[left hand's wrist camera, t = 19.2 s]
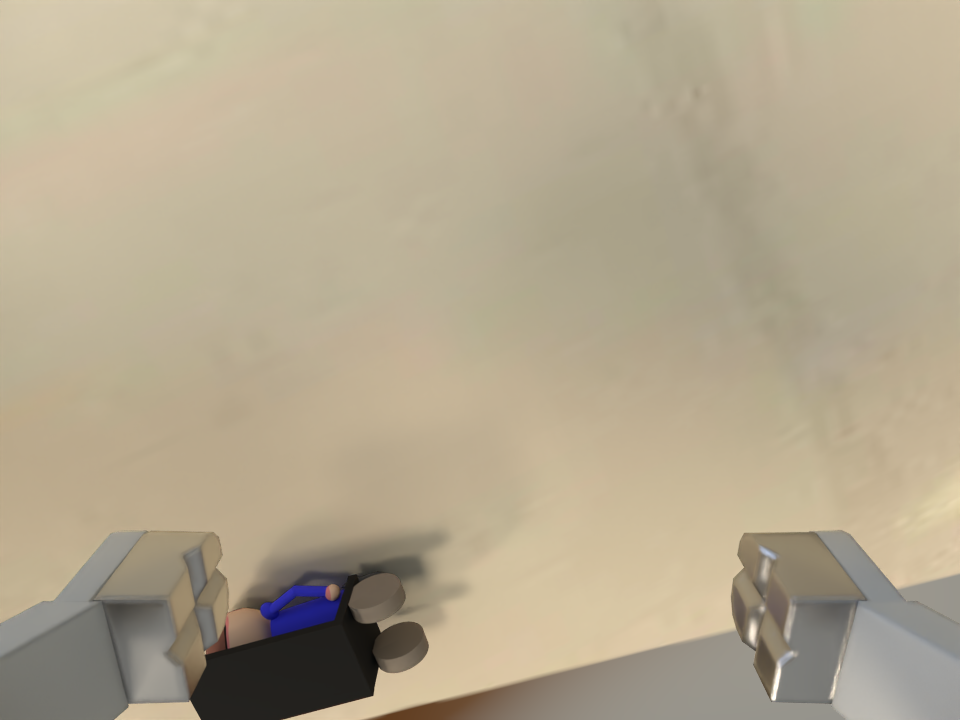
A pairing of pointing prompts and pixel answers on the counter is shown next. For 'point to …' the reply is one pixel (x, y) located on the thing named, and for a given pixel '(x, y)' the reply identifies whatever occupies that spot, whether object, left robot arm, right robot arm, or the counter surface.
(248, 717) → the figurine character
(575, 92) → the counter surface
